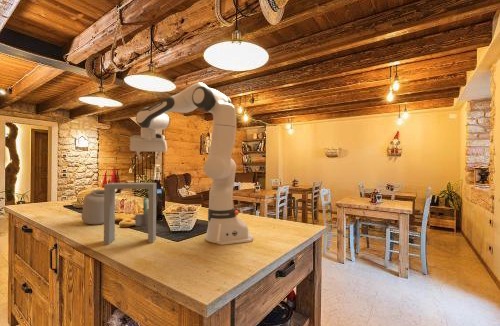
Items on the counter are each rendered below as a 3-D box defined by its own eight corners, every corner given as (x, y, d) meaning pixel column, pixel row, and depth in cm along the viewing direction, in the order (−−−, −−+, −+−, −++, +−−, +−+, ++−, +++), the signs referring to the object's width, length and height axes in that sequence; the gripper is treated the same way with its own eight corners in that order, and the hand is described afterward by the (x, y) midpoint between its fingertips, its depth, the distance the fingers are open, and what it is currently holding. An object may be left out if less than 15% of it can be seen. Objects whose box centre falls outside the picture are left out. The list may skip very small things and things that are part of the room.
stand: (155, 238, 118) (156, 182, 117) (152, 242, 111) (153, 184, 111) (109, 239, 114) (110, 182, 114) (103, 244, 107) (104, 184, 107)
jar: (121, 222, 146) (122, 179, 146) (96, 228, 133) (97, 181, 132) (101, 218, 154) (101, 178, 154) (75, 224, 141) (76, 179, 141)
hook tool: (155, 197, 143) (154, 197, 140) (155, 224, 143) (154, 225, 140) (136, 197, 141) (135, 198, 139) (136, 224, 141) (135, 226, 139)
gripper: (128, 134, 141) (128, 159, 141) (166, 135, 145) (165, 159, 145) (131, 135, 147) (131, 159, 147) (167, 136, 151) (167, 159, 151)
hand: (148, 159), depth 146 cm, fingers open, 8 cm apart
